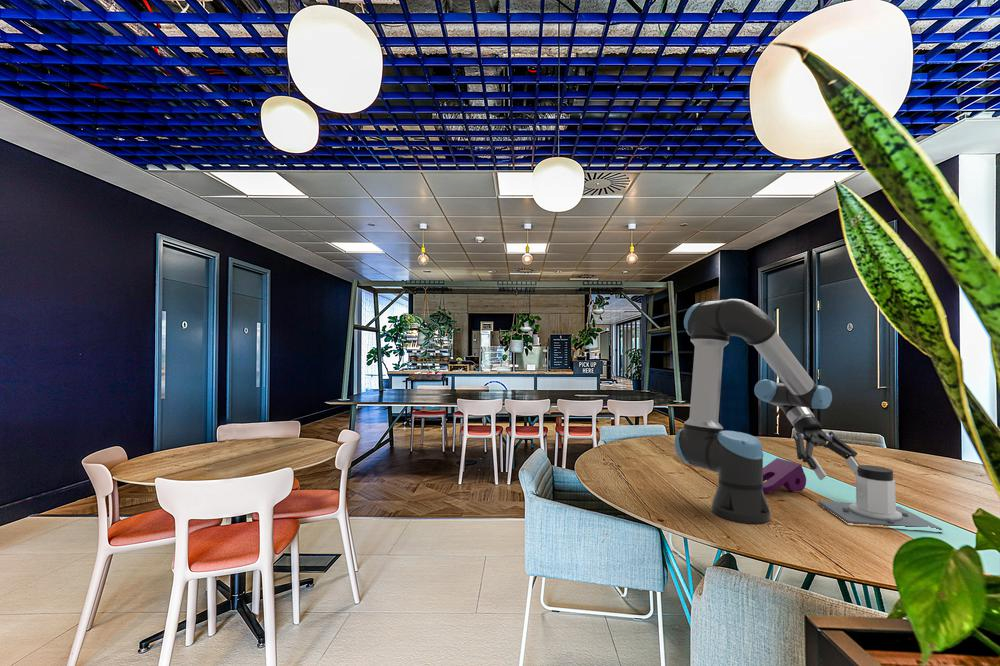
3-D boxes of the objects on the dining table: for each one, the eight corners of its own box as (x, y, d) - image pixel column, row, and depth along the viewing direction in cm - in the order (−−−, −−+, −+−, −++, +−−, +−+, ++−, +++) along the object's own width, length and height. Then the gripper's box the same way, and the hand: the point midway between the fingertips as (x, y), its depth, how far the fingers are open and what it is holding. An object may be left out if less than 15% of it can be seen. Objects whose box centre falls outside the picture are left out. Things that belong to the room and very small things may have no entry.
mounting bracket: (773, 512, 153) (809, 485, 159) (764, 490, 153) (801, 464, 158) (750, 503, 162) (785, 478, 168) (741, 482, 162) (777, 457, 167)
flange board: (848, 525, 127) (848, 517, 127) (818, 504, 144) (818, 497, 144) (942, 533, 122) (942, 524, 122) (899, 510, 140) (898, 503, 140)
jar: (850, 504, 138) (849, 464, 138) (878, 505, 138) (877, 464, 138) (873, 514, 129) (872, 471, 129) (902, 515, 129) (902, 472, 129)
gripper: (829, 427, 164) (869, 482, 148) (766, 428, 160) (800, 484, 145) (842, 415, 159) (885, 470, 143) (777, 415, 155) (813, 471, 140)
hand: (842, 477), depth 144 cm, fingers open, 13 cm apart
